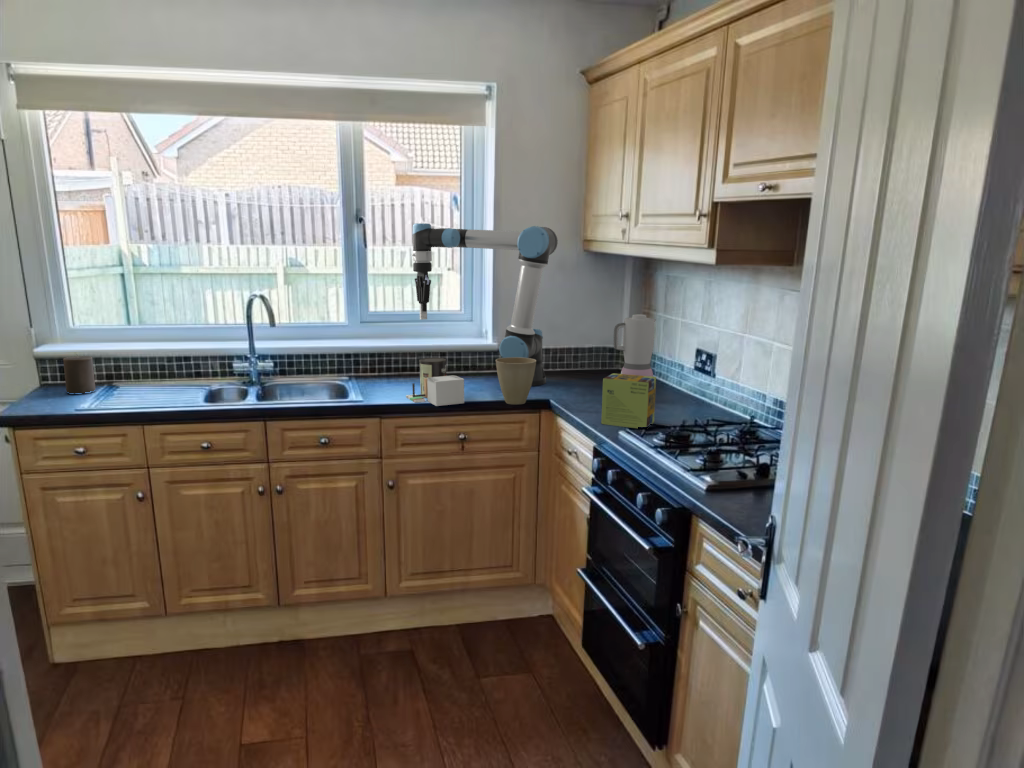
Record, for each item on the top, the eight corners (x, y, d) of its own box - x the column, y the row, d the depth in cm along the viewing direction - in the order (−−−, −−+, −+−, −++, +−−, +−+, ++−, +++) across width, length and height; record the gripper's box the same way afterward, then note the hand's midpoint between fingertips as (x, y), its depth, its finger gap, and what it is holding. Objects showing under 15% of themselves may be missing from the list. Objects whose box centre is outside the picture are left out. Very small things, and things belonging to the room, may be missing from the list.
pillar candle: (73, 396, 263) (68, 357, 260) (62, 392, 269) (58, 354, 266) (100, 392, 271) (96, 354, 268) (89, 388, 276) (85, 351, 273)
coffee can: (448, 392, 273) (448, 357, 270) (444, 398, 263) (444, 362, 260) (422, 392, 273) (421, 357, 271) (417, 398, 263) (417, 361, 260)
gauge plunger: (451, 394, 266) (451, 376, 265) (459, 398, 259) (459, 379, 258) (412, 398, 259) (411, 379, 257) (419, 402, 252) (419, 383, 251)
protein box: (647, 429, 221) (649, 382, 218) (600, 424, 227) (602, 377, 224) (654, 422, 230) (657, 376, 227) (610, 417, 237) (611, 372, 234)
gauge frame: (444, 393, 272) (444, 370, 270) (464, 403, 256) (464, 379, 254) (405, 397, 265) (405, 374, 263) (423, 407, 249) (422, 382, 247)
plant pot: (541, 405, 253) (542, 362, 250) (503, 408, 248) (503, 364, 245) (527, 396, 267) (527, 355, 264) (490, 399, 262) (490, 357, 259)
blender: (647, 395, 270) (650, 313, 264) (656, 402, 259) (661, 316, 252) (607, 396, 269) (610, 313, 262) (615, 403, 257) (618, 317, 250)
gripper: (408, 261, 289) (409, 318, 294) (419, 262, 278) (420, 321, 282) (425, 261, 292) (426, 317, 297) (436, 262, 281) (437, 320, 286)
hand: (423, 319), depth 290 cm, fingers closed
